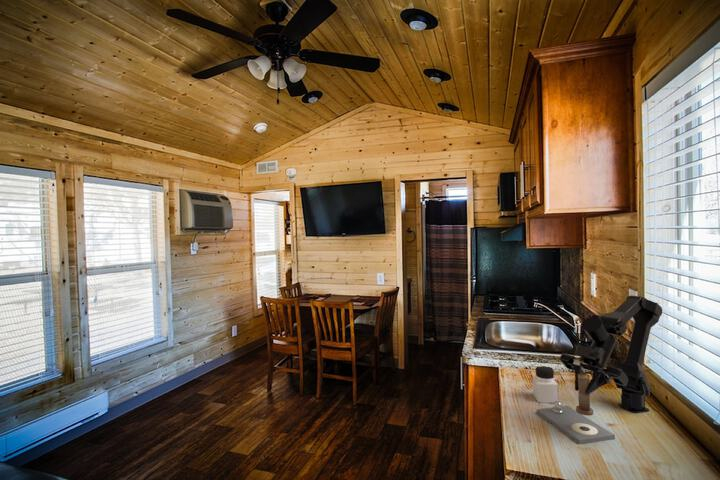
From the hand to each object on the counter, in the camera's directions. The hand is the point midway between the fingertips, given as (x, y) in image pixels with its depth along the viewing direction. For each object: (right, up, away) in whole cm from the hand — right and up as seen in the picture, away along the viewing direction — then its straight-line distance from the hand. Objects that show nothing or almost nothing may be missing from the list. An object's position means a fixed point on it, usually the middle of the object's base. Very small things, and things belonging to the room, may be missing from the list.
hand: (581, 391), depth 116 cm
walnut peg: (+1, -7, +1) cm, 7 cm away
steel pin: (0, -12, +13) cm, 17 cm away
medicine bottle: (+1, -13, +25) cm, 29 cm away
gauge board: (+1, -13, +6) cm, 14 cm away
